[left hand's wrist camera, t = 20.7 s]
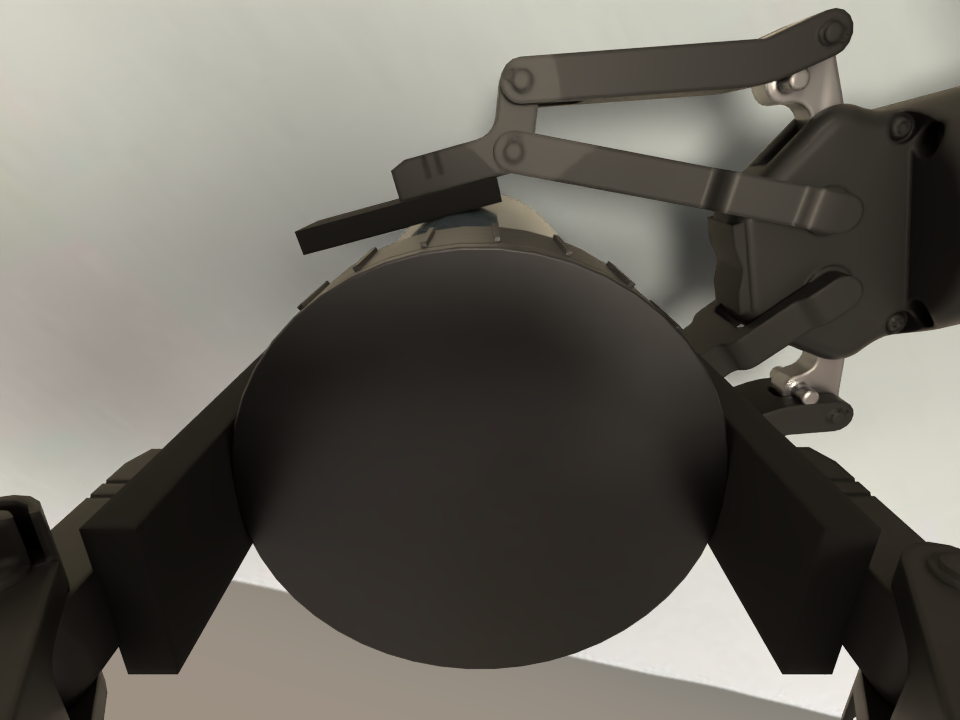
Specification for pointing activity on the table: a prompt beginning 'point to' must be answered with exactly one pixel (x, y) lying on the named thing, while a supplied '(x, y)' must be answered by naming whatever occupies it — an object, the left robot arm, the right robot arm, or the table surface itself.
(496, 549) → the lid
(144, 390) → the table surface
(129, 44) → the table surface
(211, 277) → the table surface
